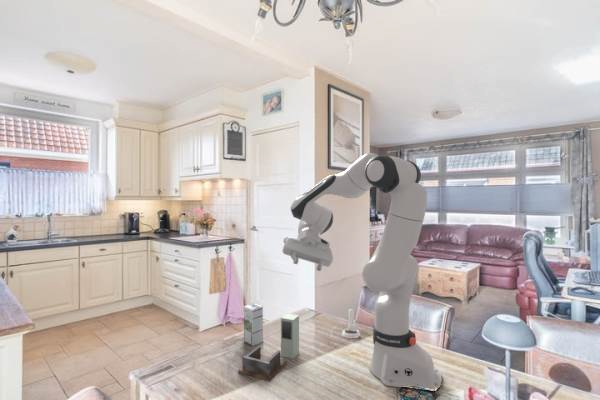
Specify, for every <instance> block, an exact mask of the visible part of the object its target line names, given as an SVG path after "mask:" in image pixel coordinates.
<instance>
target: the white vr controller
mask: <svg viewBox="0 0 600 400" xmlns="http://www.w3.org/2000/svg"><path fill="white" fill-rule="evenodd" d="M358 328H359V326H358V324H357V323H355V311H354V309H351V308H349V309H348V325H347V328H344V329H343V330H342V333H341V335H342V337H344V338H346V339H349V338H351V339H352V338H356V339H359V338H360V337H361V333H360V331H359V330H358ZM348 332H353V333H348ZM359 336H360V337H359ZM358 337H359V338H358ZM351 339H350V340H351Z"/></svg>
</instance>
